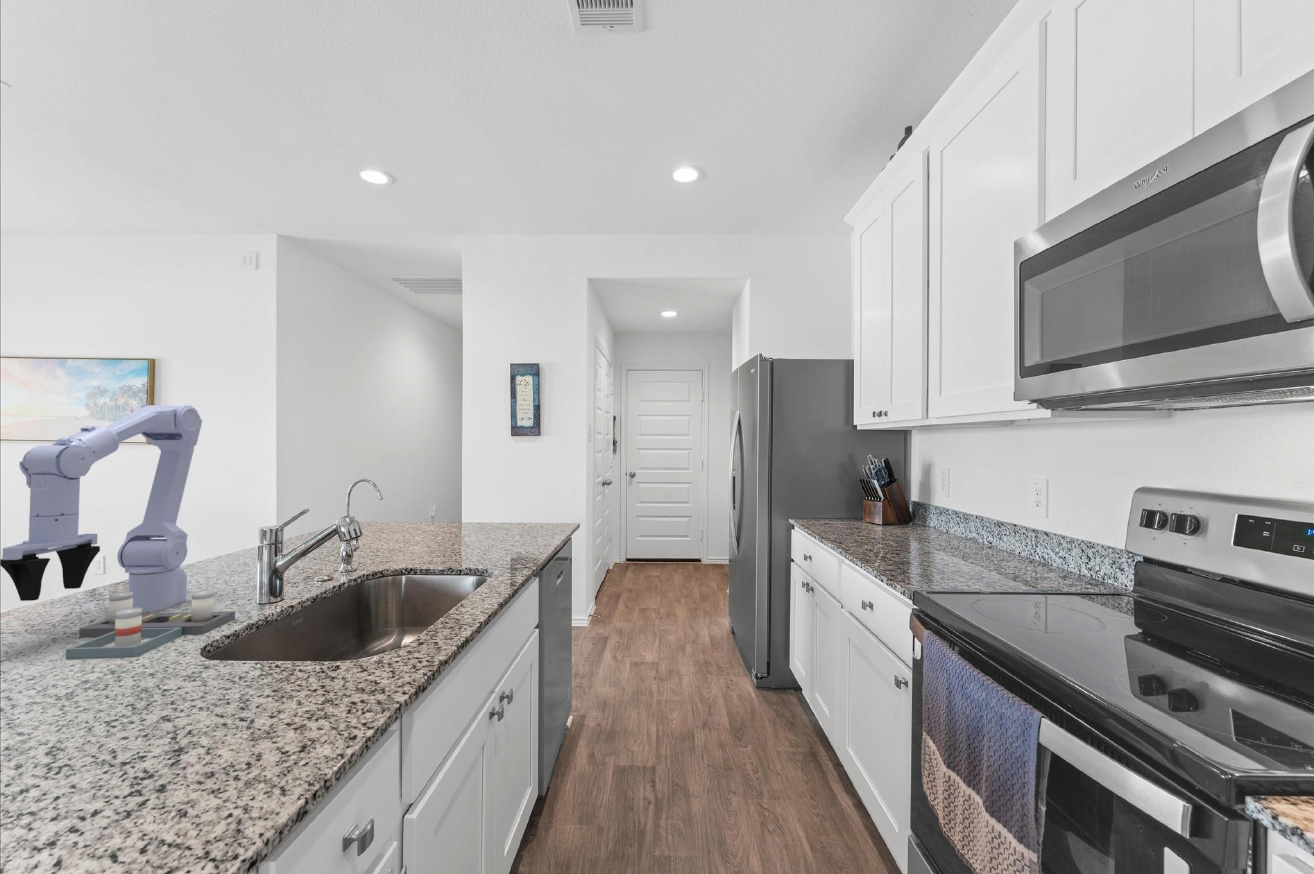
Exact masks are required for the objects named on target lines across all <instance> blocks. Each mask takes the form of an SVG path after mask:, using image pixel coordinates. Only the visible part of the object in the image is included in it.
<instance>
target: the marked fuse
mask: <svg viewBox="0 0 1314 874" xmlns="http://www.w3.org/2000/svg"><path fill="white" fill-rule="evenodd" d="M141 631H142V608H139V607H136V608H127V609H122V610H118V611H116V618H115V634H114V636H115V641H114V646H113V647H123V646H136V645H138V644H141V643H142V638H141Z"/></svg>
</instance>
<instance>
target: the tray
mask: <svg viewBox="0 0 1314 874" xmlns="http://www.w3.org/2000/svg"><path fill="white" fill-rule="evenodd" d="M114 634H115V631H113V632H111V633H108V634H105V635H103V636H100V637H94V638H92V639H89V640H86V641H85V642H82V643H78V644H76V645H74V646H71V647H69V648H66V649H65V660H78V659H79V660H81V659H87V660H88V659H115V658H116V659H117V658H118V659H119V658H136V657H138V656H141V655H142V654H143V655H144V654H145V653H147V652H149V651H153V650H154V649H157V648H158V647H159V648H160V647H161V646H163V645H165V644H167V643H170V642H172V641H174V640H176V639H179V638H181V637H182V636H183V635H182V627H172V628H142V631H141V639H148V640H146V641H144V642H143V641H142V642H141V644H138V645H136V646H123V647H114V646H106V645H109V644H112V643H115V636H114Z"/></svg>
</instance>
